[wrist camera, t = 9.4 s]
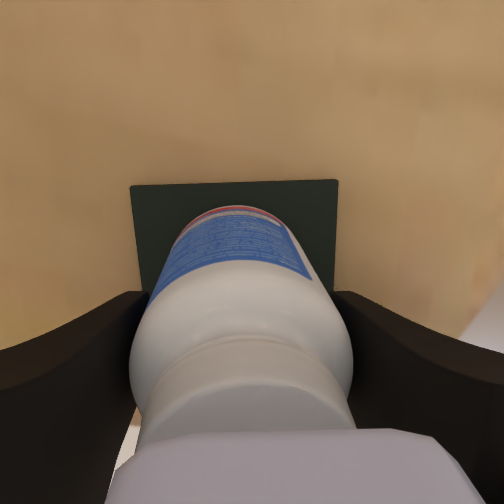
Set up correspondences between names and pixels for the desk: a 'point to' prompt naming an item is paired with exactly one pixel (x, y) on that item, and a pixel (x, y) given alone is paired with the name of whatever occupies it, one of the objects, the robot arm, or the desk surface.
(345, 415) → the pill bottle
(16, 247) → the desk surface
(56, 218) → the desk surface
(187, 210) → the pad
